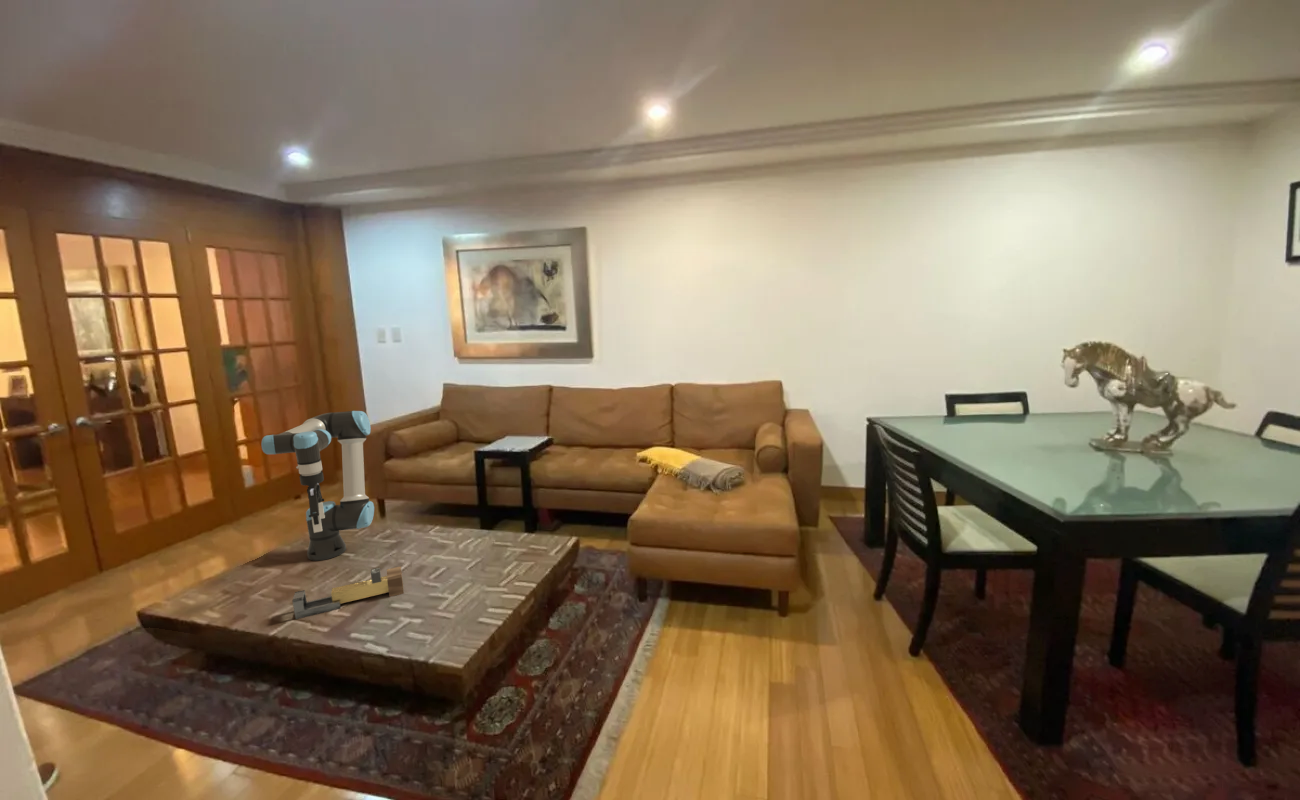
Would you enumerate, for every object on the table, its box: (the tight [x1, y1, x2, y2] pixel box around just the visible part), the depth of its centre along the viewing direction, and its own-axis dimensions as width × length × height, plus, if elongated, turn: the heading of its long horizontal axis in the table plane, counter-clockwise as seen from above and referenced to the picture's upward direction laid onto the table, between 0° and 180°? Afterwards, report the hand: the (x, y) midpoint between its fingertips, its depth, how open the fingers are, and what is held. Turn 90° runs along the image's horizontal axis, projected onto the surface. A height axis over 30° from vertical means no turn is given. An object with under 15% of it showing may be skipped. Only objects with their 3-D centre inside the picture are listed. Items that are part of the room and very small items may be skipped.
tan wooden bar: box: [330, 567, 389, 605], centre depth 200 cm, size 4×22×9 cm, turn 116°
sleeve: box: [291, 589, 342, 620], centre depth 194 cm, size 6×14×7 cm, turn 116°
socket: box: [386, 565, 405, 598], centre depth 205 cm, size 7×5×8 cm
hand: (319, 524), depth 203 cm, fingers open, 13 cm apart
